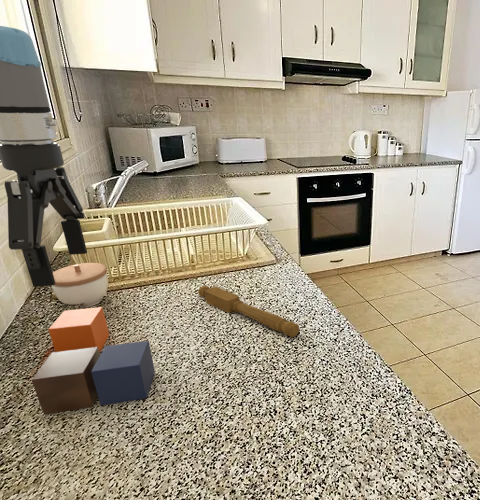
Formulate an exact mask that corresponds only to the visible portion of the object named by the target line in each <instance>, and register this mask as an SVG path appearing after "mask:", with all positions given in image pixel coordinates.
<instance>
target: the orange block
mask: <svg viewBox="0 0 480 500" xmlns="http://www.w3.org/2000/svg"><path fill="white" fill-rule="evenodd" d="M107 323H108V322H107V319H106V316H105V311H104V308H103V306H97V307H87V308H82V309H80V308H78V309H68V310H63V311H62V312H61V314H59V316H58V317H57V319H56V320H55V321H54V322H53V323H52V324H51V325H50V327H48V333H49V336H50V339H51V342H52V346H53V348H54V352H60V351H69V350H77V349H85V348H93V347H98V348H99V352H102V350H103V348H104V347H105V346H104V345H105V344H106V342H107V340H108V338H109V337H110V332H109V327H108V324H107Z"/></svg>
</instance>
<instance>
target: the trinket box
mask: <svg viewBox="0 0 480 500" xmlns="http://www.w3.org/2000/svg"><path fill="white" fill-rule="evenodd" d="M52 272H53V276H54V279H55V282H56V284H55V285H52V286H51V290H52V292H53V293H54V295H55V297H56V298H57V300H58V301H60V302H61V303H62V304H64V305H73V306H74V305H81V306H80V308H79V309H87V308H92V307H93V306H96V305H98V304H99V303H101V301H103V300H102V299H103V298H104V296H105V295H106V294H107V292H108V288H109V275H108V268H107V266H106V265H105V264H103V263H99V262H83V263H76V264H72V265H68V266H65V267H64V266H63V267H61V268H59V269H57V270H55V271H52Z"/></svg>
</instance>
